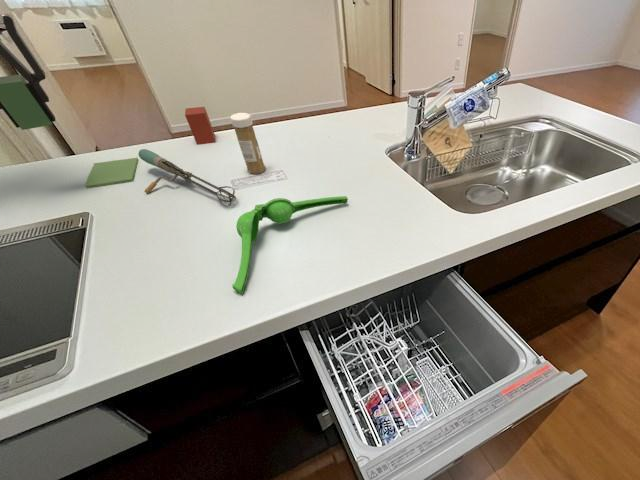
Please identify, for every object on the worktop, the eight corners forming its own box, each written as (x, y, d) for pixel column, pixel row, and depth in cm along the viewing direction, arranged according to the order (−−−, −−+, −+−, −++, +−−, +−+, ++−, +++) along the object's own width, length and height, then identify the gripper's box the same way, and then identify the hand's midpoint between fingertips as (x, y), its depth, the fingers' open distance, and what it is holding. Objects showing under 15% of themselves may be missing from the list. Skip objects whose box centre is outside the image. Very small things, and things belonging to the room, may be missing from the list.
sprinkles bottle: (269, 168, 91) (254, 114, 81) (257, 176, 88) (240, 120, 78) (255, 164, 92) (239, 110, 82) (243, 172, 89) (225, 116, 79)
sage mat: (95, 165, 90) (94, 163, 90) (138, 159, 93) (137, 157, 92) (86, 188, 83) (84, 185, 82) (133, 181, 85) (131, 178, 85)
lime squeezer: (242, 295, 60) (230, 269, 56) (195, 272, 64) (180, 245, 59) (350, 204, 80) (348, 179, 76) (310, 190, 84) (305, 165, 79)
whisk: (219, 236, 78) (200, 219, 72) (128, 186, 87) (105, 167, 81) (248, 201, 81) (232, 182, 75) (158, 156, 90) (137, 136, 84)
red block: (197, 137, 103) (185, 108, 97) (215, 135, 104) (204, 106, 98) (197, 144, 99) (184, 115, 94) (215, 142, 101) (204, 112, 95)
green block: (22, 121, 72) (-11, 78, 66) (51, 117, 74) (22, 74, 68) (22, 130, 70) (-13, 85, 64) (52, 124, 72) (21, 81, 66)
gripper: (-167, -28, 49) (-22, 138, 66) (-4, -32, 56) (88, 119, 73) (-152, -33, 53) (-19, 125, 70) (-2, -36, 60) (86, 108, 77)
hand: (36, 122), depth 72 cm, fingers closed on green block, 5 cm apart
